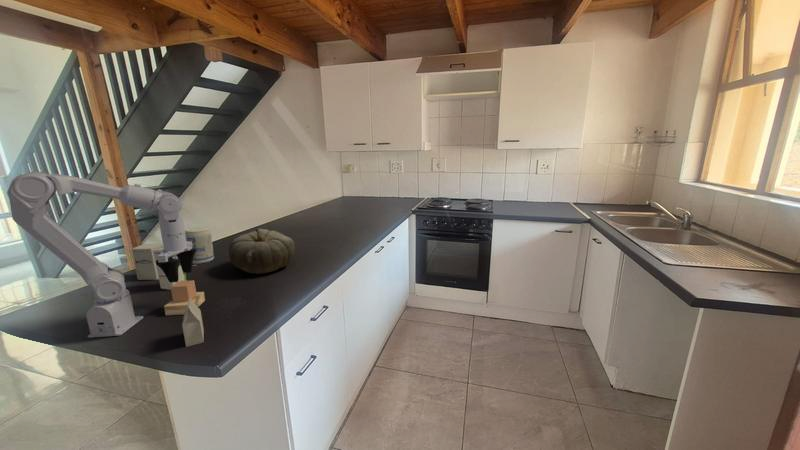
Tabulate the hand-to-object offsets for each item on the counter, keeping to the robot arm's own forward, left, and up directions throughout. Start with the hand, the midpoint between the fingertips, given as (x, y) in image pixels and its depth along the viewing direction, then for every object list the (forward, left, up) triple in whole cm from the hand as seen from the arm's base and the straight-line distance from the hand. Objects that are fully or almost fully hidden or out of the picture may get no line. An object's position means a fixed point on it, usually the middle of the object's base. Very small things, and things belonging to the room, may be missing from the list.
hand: (180, 276), depth 96 cm
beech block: (0, 0, -10) cm, 10 cm away
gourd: (+33, -15, -10) cm, 38 cm away
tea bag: (-18, -11, -10) cm, 24 cm away
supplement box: (+29, +26, -10) cm, 40 cm away
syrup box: (+18, +13, -10) cm, 25 cm away
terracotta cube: (0, 0, -7) cm, 7 cm away
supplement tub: (+46, +16, -10) cm, 50 cm away
